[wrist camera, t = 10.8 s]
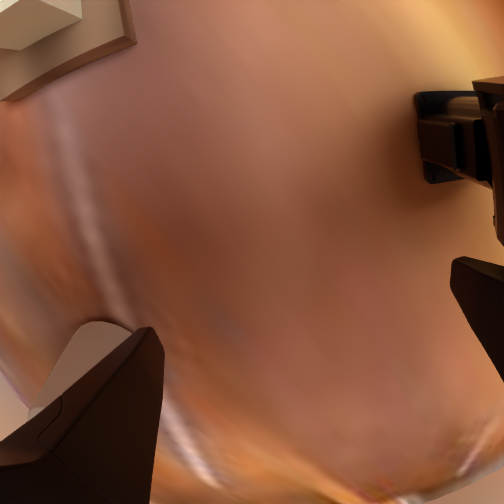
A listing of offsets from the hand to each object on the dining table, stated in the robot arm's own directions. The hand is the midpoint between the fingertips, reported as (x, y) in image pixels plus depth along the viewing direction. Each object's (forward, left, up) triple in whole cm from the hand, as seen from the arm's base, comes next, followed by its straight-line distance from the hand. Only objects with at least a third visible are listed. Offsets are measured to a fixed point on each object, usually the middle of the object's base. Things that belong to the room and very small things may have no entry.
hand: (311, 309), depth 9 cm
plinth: (+11, -17, -14) cm, 24 cm away
